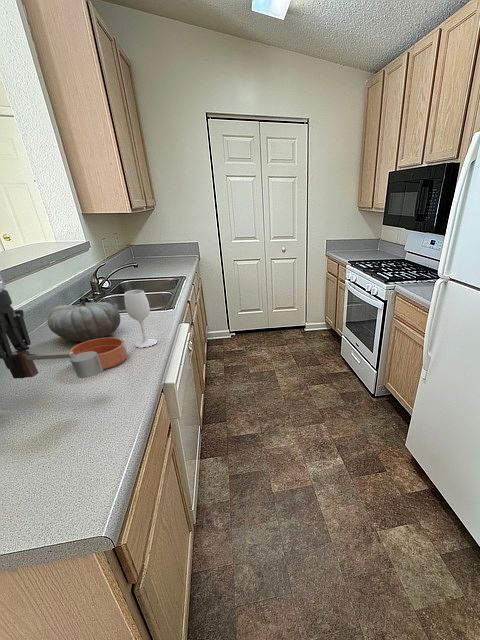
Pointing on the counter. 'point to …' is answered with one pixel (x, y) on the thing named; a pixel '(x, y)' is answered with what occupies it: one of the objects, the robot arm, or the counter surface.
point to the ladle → (82, 363)
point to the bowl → (104, 350)
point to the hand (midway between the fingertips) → (23, 374)
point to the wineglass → (138, 313)
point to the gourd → (84, 320)
